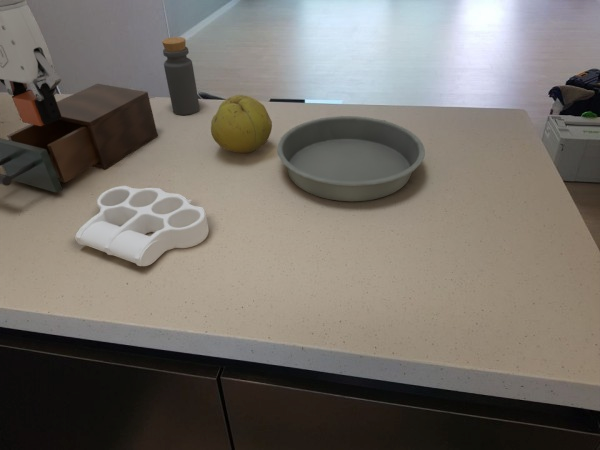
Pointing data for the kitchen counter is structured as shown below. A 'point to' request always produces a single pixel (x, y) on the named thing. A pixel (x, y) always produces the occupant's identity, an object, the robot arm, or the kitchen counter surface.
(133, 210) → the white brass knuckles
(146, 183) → the kitchen counter surface
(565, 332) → the kitchen counter surface
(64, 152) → the drawer
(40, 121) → the block
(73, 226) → the kitchen counter surface
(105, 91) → the cabinet
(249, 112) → the fruit
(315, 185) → the cake pan
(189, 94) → the bottle
